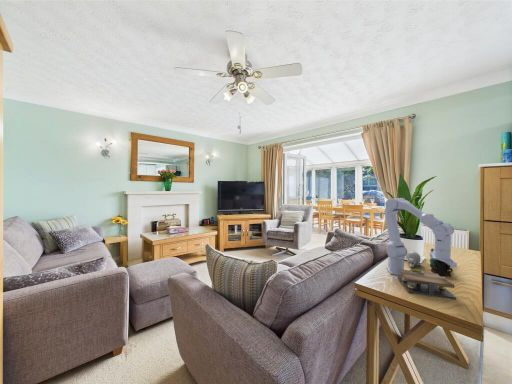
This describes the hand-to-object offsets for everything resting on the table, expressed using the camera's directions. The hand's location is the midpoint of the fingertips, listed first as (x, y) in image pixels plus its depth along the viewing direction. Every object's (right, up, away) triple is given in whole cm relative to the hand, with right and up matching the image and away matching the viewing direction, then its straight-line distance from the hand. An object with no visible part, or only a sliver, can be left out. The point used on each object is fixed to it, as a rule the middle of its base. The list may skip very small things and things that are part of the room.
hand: (441, 276), depth 98 cm
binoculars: (+17, -7, +19) cm, 26 cm away
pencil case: (+27, -7, +32) cm, 42 cm away
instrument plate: (-7, -3, +2) cm, 7 cm away
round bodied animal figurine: (+10, -7, +31) cm, 33 cm away
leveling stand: (-7, -7, +2) cm, 10 cm away
